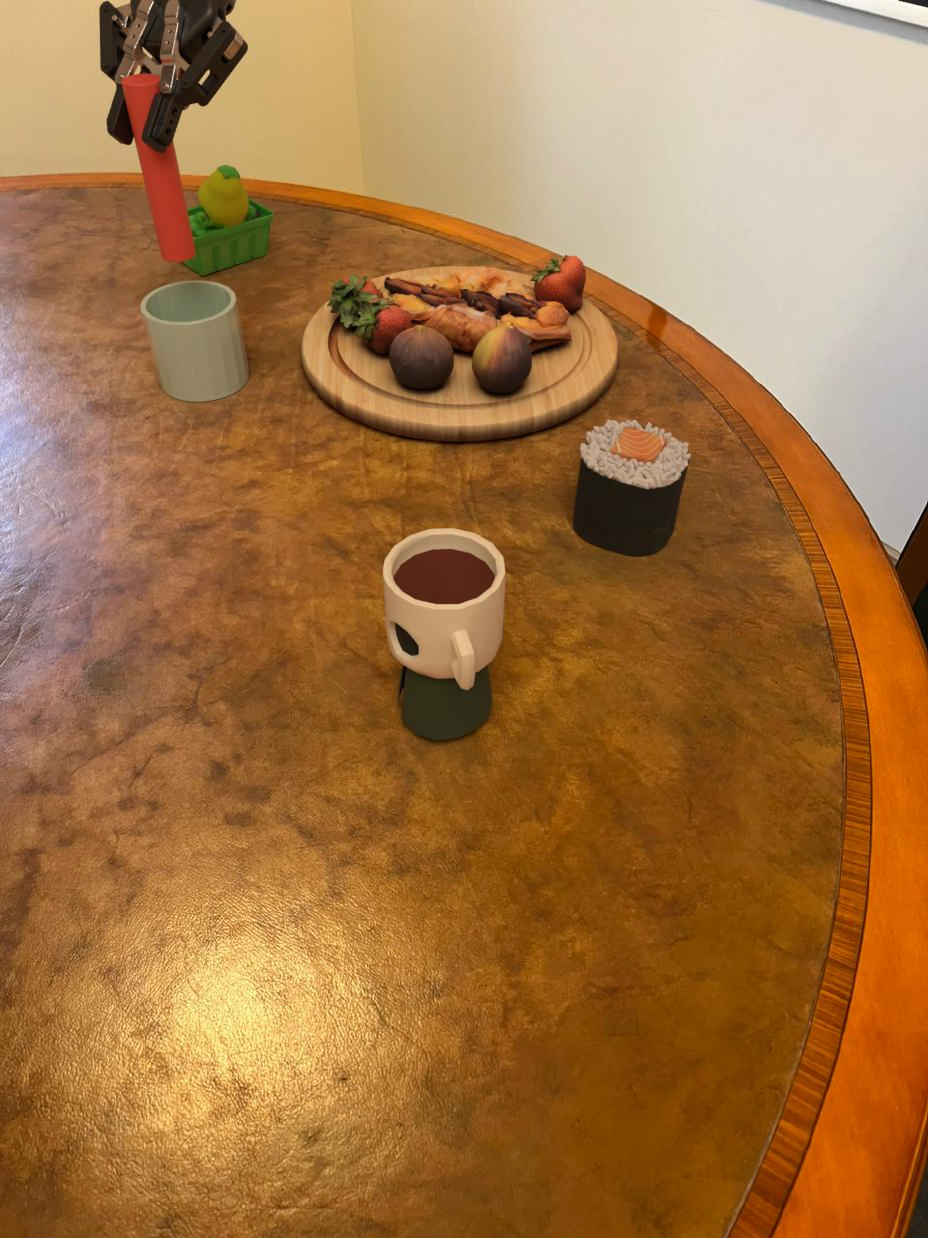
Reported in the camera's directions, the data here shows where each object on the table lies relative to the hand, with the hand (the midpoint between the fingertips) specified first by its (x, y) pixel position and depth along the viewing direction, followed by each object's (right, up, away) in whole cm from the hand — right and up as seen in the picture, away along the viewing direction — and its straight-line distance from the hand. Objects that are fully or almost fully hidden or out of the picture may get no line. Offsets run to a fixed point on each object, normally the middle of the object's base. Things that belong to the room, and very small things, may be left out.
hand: (135, 142), depth 74 cm
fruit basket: (-2, +4, +36) cm, 36 cm away
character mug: (+25, -44, -11) cm, 52 cm away
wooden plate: (+26, -11, +21) cm, 35 cm away
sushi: (+39, -30, +2) cm, 50 cm away
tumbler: (+1, -14, +17) cm, 22 cm away
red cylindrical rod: (+1, -6, +8) cm, 10 cm away
